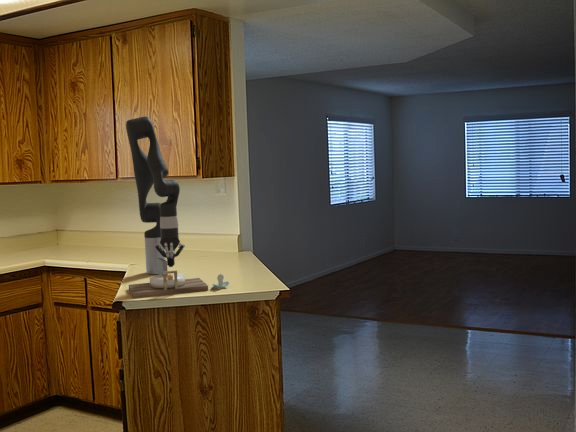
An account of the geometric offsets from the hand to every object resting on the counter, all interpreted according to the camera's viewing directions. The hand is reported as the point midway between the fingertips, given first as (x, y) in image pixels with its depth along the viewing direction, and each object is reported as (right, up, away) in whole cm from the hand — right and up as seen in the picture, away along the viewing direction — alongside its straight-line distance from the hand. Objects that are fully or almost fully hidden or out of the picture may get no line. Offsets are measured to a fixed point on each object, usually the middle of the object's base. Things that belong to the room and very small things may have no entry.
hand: (171, 266), depth 282 cm
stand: (+1, -9, -11) cm, 14 cm away
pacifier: (+22, -8, -10) cm, 26 cm away
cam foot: (-1, -6, -8) cm, 10 cm away
